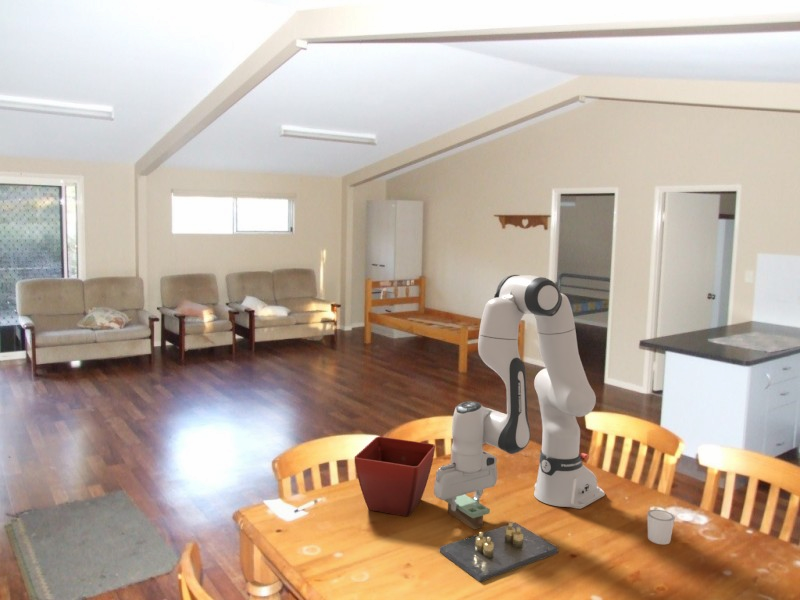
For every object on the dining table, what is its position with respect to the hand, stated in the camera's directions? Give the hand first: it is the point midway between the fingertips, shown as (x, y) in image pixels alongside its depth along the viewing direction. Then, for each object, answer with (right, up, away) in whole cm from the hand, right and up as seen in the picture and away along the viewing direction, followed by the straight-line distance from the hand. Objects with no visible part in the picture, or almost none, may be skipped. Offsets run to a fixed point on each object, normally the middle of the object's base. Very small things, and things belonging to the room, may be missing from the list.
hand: (465, 506), depth 188 cm
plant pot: (-20, -2, +9) cm, 22 cm away
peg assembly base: (+7, -6, -17) cm, 20 cm away
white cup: (+51, -6, -9) cm, 52 cm away
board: (0, 0, 0) cm, 0 cm away
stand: (0, -4, 0) cm, 4 cm away
